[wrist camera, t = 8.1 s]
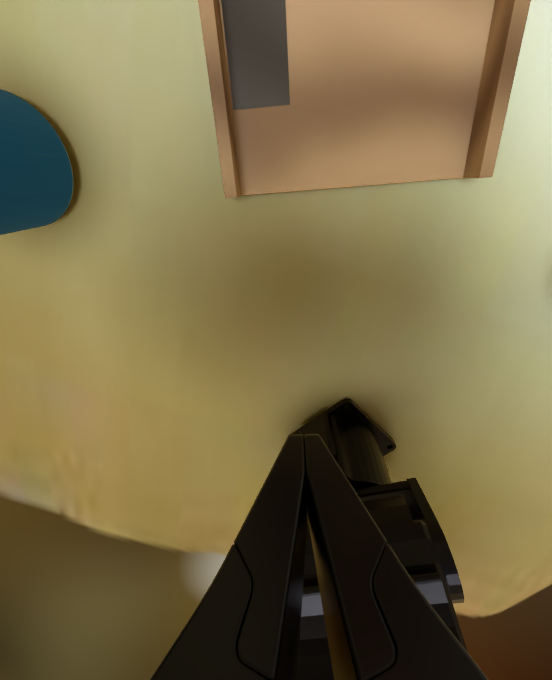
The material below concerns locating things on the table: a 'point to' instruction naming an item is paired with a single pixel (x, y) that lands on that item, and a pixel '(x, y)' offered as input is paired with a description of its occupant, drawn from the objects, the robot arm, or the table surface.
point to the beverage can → (30, 168)
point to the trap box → (358, 89)
